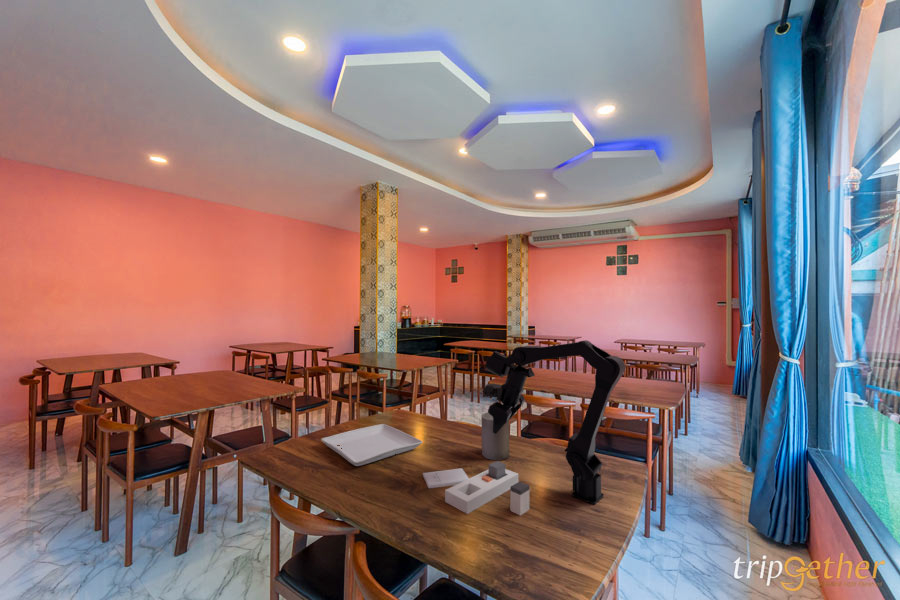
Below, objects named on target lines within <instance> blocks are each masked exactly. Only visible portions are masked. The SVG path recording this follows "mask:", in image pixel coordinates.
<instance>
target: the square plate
mask: <svg viewBox="0 0 900 600" xmlns="http://www.w3.org/2000/svg"><path fill="white" fill-rule="evenodd" d="M320 440H321V442H323V444H324V445H325V446H327V447H328V448H330V449H331V450H333V451H334V452H335V453H336V454H339V455H340V456H341V457H343V458H344V459H345V460H347V462H349V463H350V464H351V465H353V466H355V467H361V466H363V465H367V464H371V463H374V462H377V461H380V460H383V459H385V458H388V457H391V456H392V457H393V456H395V454H396V455H398V454H402V453H405V452H408V451H412V450H414V449H416V448H418V447H419V446H420V445H421V444H423V440H421V439H418V438H417V437H415V436H412V435H410V434H408V433H406V432H404V431H402V430H400V429H397V428H396V427H393V426H390V425H388V424H386V423H381V424H380V423H379V424H375V425H370V426H366V427H360V428H357V429H353V430H349V431H344V432H341V433H337V434H336V433H335V434H333V435H330V436H326V437H322V438H320ZM337 445H340V446H337ZM341 448H342V449H341Z"/></svg>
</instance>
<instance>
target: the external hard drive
mask: <svg viewBox="0 0 900 600" xmlns="http://www.w3.org/2000/svg"><path fill="white" fill-rule="evenodd" d="M422 476H423V479H424V481H425V483H426V486H427V488H428V489H434V488H441V487H442V488H443V487H450V486H451V487H452V486H455V485H457V484H459V483H461V482H463V481H465V480H467V479H469V478H470V477H469V476H468V475H467V473H466V472H465V470H464V469H463V468H461V467H460V468H452V469H445V470H438V471H430V472H422Z"/></svg>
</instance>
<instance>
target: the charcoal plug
mask: <svg viewBox="0 0 900 600" xmlns="http://www.w3.org/2000/svg"><path fill="white" fill-rule="evenodd" d="M488 469H489V477H491V478H493V479H496V480H498V479H500V478H502V477H504V476H505V469H506V464H505V463H504V462H502V461H500V460H495V462H492V463H489V464H488Z"/></svg>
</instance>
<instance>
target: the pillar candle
mask: <svg viewBox="0 0 900 600" xmlns="http://www.w3.org/2000/svg"><path fill="white" fill-rule="evenodd" d="M482 455H483V456H484V457H483V456H482ZM481 456H482V457H483V458H485V459H487V460H489V459H490V460H491V461H503V460H506V459H508V458H509V457H510V420H509V421H508V422H507V423H506V424H504V426H503V427H502V428H501V429H500V430H499V431H498V432H497V434H495V433H493V417H492V415H490V414H489V413H488V412H484V413H482V414H481Z"/></svg>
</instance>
